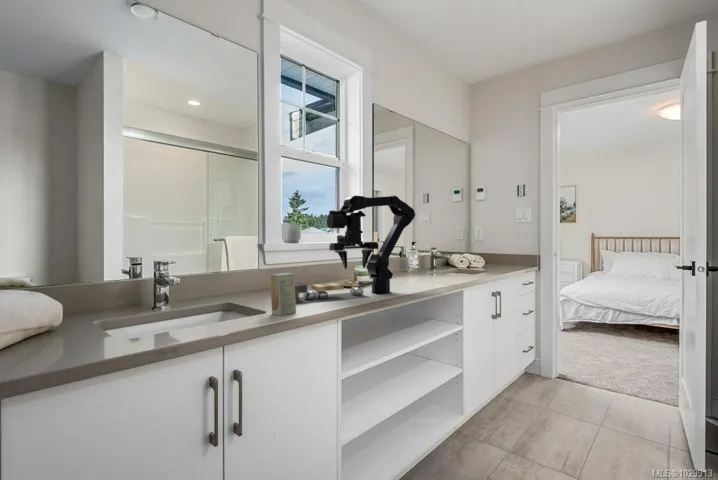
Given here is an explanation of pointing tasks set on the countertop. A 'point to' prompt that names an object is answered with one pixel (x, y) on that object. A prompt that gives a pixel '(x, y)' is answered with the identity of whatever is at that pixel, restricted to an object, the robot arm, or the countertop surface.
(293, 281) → the skincare box
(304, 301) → the rubber mat
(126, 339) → the countertop surface
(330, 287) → the oak slab
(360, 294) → the cylinder
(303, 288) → the walnut stop
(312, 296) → the loose steel roller
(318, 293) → the cylinder
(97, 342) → the countertop surface
